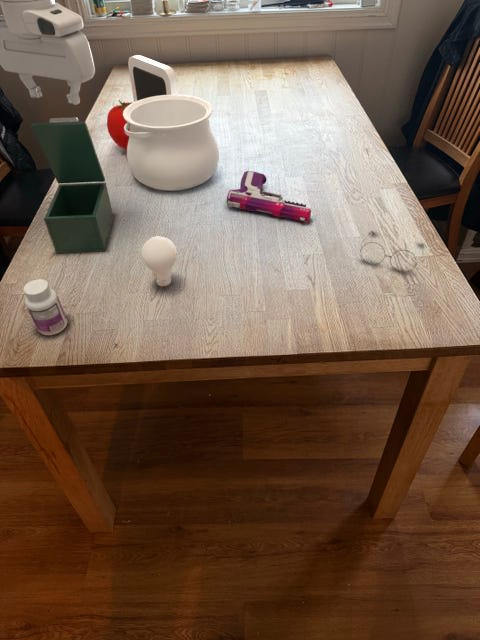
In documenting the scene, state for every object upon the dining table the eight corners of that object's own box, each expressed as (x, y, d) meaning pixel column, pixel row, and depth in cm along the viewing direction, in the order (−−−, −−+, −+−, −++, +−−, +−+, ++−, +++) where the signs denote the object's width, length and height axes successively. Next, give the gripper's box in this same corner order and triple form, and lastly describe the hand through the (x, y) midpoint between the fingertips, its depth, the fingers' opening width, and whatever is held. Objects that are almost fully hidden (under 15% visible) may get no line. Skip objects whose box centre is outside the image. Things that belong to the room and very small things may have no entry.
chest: (105, 251, 99) (95, 216, 93) (56, 253, 99) (43, 218, 92) (113, 215, 109) (105, 182, 103) (69, 217, 109) (58, 184, 103)
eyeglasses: (369, 233, 103) (373, 213, 99) (425, 246, 99) (432, 227, 95) (355, 260, 96) (359, 240, 92) (415, 276, 92) (422, 256, 88)
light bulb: (180, 273, 93) (174, 228, 86) (181, 294, 89) (175, 248, 81) (148, 276, 93) (139, 230, 85) (147, 297, 88) (138, 251, 80)
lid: (85, 124, 89) (87, 108, 91) (31, 126, 89) (34, 110, 91) (105, 181, 103) (106, 166, 105) (58, 183, 102) (60, 168, 105)
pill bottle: (41, 316, 85) (23, 277, 78) (70, 314, 85) (54, 275, 78) (34, 337, 81) (15, 297, 74) (65, 335, 81) (48, 295, 74)
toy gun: (322, 196, 114) (306, 228, 105) (244, 181, 120) (222, 210, 110) (324, 183, 112) (307, 214, 102) (244, 168, 117) (221, 196, 108)
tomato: (154, 154, 133) (147, 107, 124) (112, 158, 131) (102, 111, 122) (152, 138, 141) (145, 93, 132) (112, 142, 139) (102, 97, 130)
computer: (168, 71, 118) (176, 69, 119) (125, 54, 130) (133, 52, 131) (176, 152, 133) (184, 150, 135) (138, 131, 145) (145, 128, 147)
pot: (169, 206, 112) (160, 139, 100) (111, 175, 124) (96, 112, 112) (239, 170, 125) (238, 107, 113) (180, 145, 137) (174, 86, 125)
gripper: (-26, 16, 80) (3, 98, 89) (65, 26, 74) (87, 113, 83) (0, 9, 84) (26, 88, 94) (89, 17, 78) (107, 102, 87)
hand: (55, 100), depth 88 cm, fingers open, 8 cm apart
